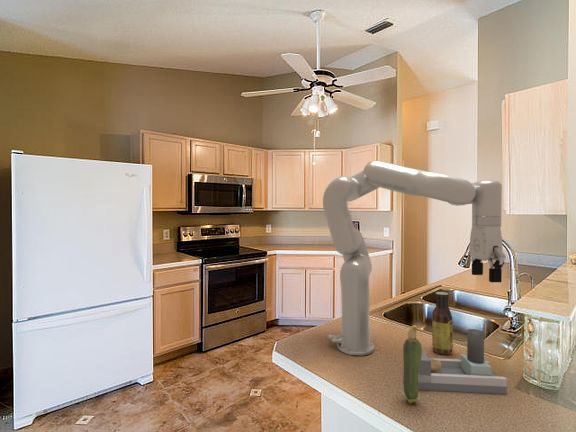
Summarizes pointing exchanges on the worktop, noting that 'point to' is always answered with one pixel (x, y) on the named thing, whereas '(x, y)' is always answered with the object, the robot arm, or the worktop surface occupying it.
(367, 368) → the worktop surface
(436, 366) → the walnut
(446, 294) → the sauce bottle
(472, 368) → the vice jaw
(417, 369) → the vegetable
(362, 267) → the robot arm
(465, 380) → the vice bench
